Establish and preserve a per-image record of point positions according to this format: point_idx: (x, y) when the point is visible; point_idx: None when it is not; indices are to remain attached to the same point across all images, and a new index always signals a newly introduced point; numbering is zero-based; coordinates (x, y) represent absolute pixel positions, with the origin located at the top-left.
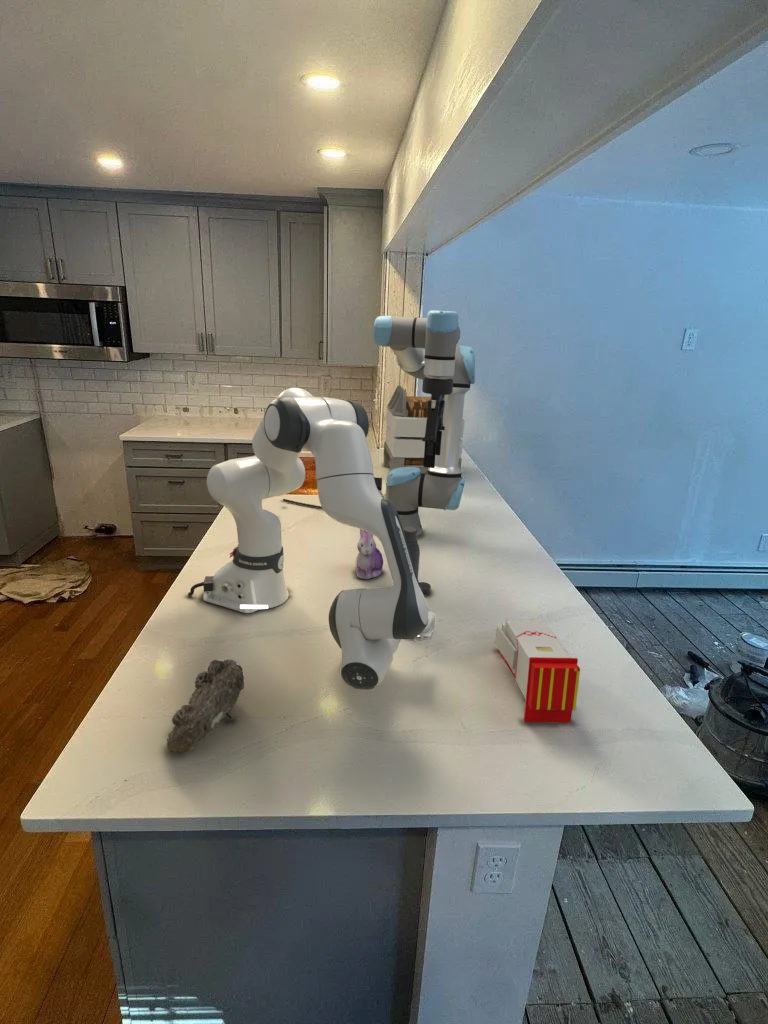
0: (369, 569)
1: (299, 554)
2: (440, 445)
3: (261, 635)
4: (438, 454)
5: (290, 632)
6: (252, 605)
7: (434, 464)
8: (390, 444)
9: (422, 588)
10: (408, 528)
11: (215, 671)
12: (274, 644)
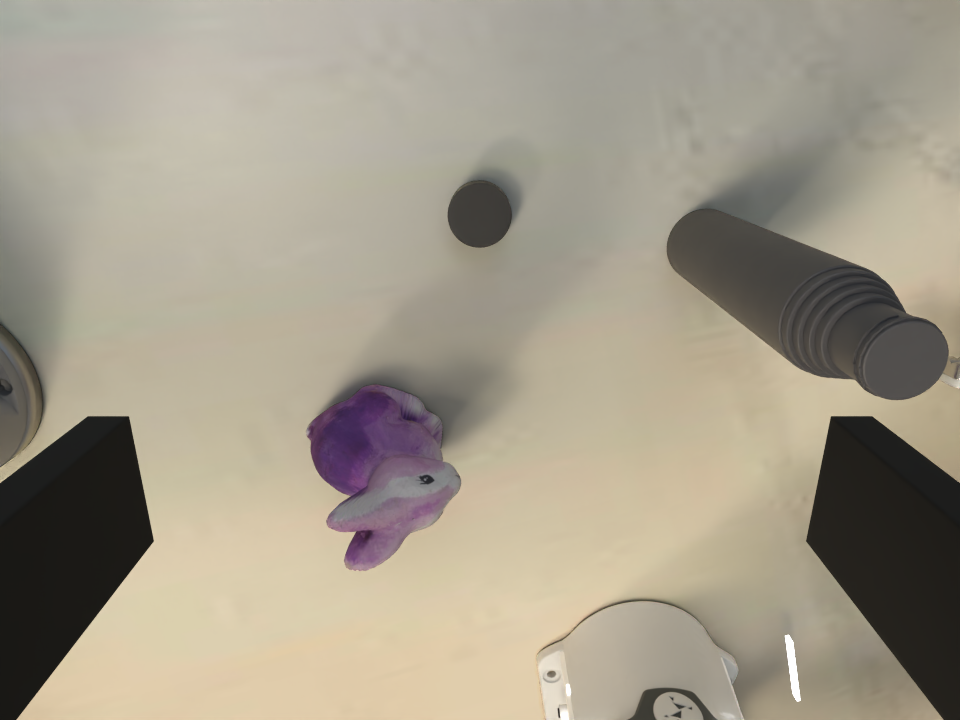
0: (429, 431)
1: (325, 656)
2: (35, 496)
3: (837, 597)
4: (126, 439)
5: None
6: (796, 675)
7: (893, 438)
8: None
9: (504, 214)
10: (894, 373)
11: None
12: None
